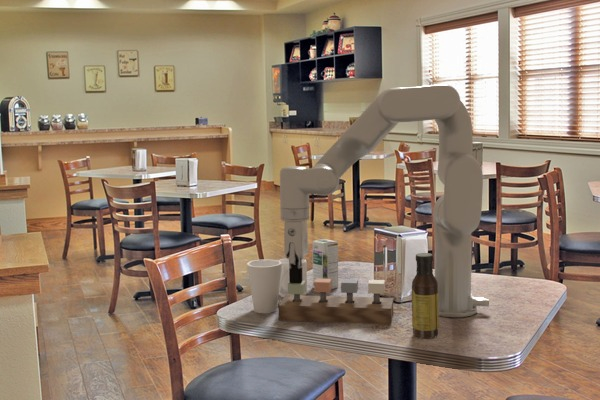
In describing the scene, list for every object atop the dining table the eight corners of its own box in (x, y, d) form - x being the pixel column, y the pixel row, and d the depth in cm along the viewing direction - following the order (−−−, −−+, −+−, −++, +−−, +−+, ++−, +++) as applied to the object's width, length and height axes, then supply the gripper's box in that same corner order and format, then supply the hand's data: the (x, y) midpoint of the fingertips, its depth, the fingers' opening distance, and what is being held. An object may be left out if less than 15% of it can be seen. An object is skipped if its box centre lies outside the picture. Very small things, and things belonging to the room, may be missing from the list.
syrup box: (312, 288, 226) (311, 240, 224) (326, 284, 230) (325, 238, 228) (325, 291, 221) (324, 243, 219) (339, 287, 225) (338, 240, 223)
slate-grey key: (358, 303, 197) (358, 279, 196) (356, 308, 193) (356, 283, 192) (343, 303, 197) (342, 279, 196) (341, 307, 193) (341, 282, 193)
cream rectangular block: (384, 304, 195) (384, 280, 194) (384, 308, 192) (383, 283, 191) (369, 304, 196) (369, 279, 195) (368, 308, 192) (368, 283, 191)
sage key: (305, 305, 199) (305, 280, 198) (303, 309, 195) (302, 284, 194) (291, 304, 200) (290, 280, 199) (288, 308, 196) (287, 284, 195)
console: (393, 312, 198) (393, 298, 198) (391, 324, 189) (391, 308, 188) (286, 309, 203) (285, 295, 203) (278, 320, 194) (278, 305, 193)
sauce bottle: (423, 329, 184) (423, 250, 181) (443, 335, 179) (444, 253, 177) (406, 335, 179) (406, 254, 177) (427, 341, 175) (427, 258, 172)
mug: (291, 303, 209) (290, 267, 208) (266, 300, 213) (265, 264, 212) (312, 293, 219) (311, 259, 218) (287, 290, 224) (287, 256, 222)
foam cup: (244, 314, 200) (243, 266, 198) (251, 304, 209) (250, 259, 207) (280, 315, 198) (278, 267, 196) (285, 305, 207) (284, 259, 205)
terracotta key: (331, 303, 198) (331, 278, 197) (329, 307, 194) (329, 282, 193) (316, 302, 199) (316, 278, 198) (314, 306, 195) (314, 282, 194)
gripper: (304, 218, 186) (305, 290, 189) (313, 209, 201) (314, 276, 203) (274, 218, 187) (276, 289, 190) (286, 209, 202) (287, 275, 205)
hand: (296, 282), depth 197 cm, fingers closed
